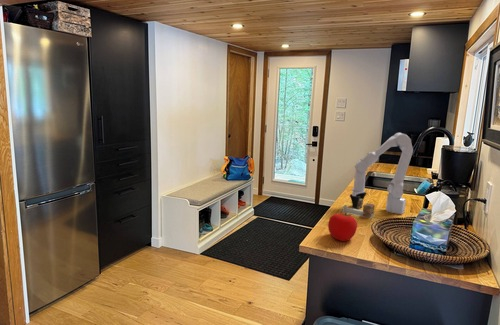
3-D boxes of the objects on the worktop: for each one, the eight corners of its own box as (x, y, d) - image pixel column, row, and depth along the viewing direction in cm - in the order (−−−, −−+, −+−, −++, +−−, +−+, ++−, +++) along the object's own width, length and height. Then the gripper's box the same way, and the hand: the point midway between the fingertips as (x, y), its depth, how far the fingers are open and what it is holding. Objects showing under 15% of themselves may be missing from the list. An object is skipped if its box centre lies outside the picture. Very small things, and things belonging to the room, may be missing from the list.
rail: (374, 216, 178) (375, 210, 178) (370, 220, 173) (371, 213, 172) (346, 209, 188) (346, 204, 187) (341, 212, 182) (341, 206, 182)
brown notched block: (362, 208, 191) (363, 198, 190) (359, 211, 187) (360, 200, 186) (355, 207, 193) (356, 197, 192) (351, 209, 189) (352, 199, 188)
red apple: (325, 241, 144) (327, 216, 142) (329, 230, 157) (331, 207, 155) (354, 246, 140) (357, 220, 138) (356, 234, 153) (358, 211, 151)
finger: (362, 215, 176) (363, 205, 175) (365, 213, 180) (366, 202, 179) (370, 217, 174) (371, 206, 173) (373, 215, 178) (374, 204, 177)
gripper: (357, 179, 195) (354, 201, 198) (347, 183, 184) (345, 207, 187) (369, 181, 191) (366, 204, 194) (360, 186, 180) (357, 210, 182)
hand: (357, 205), depth 190 cm, fingers open, 7 cm apart
